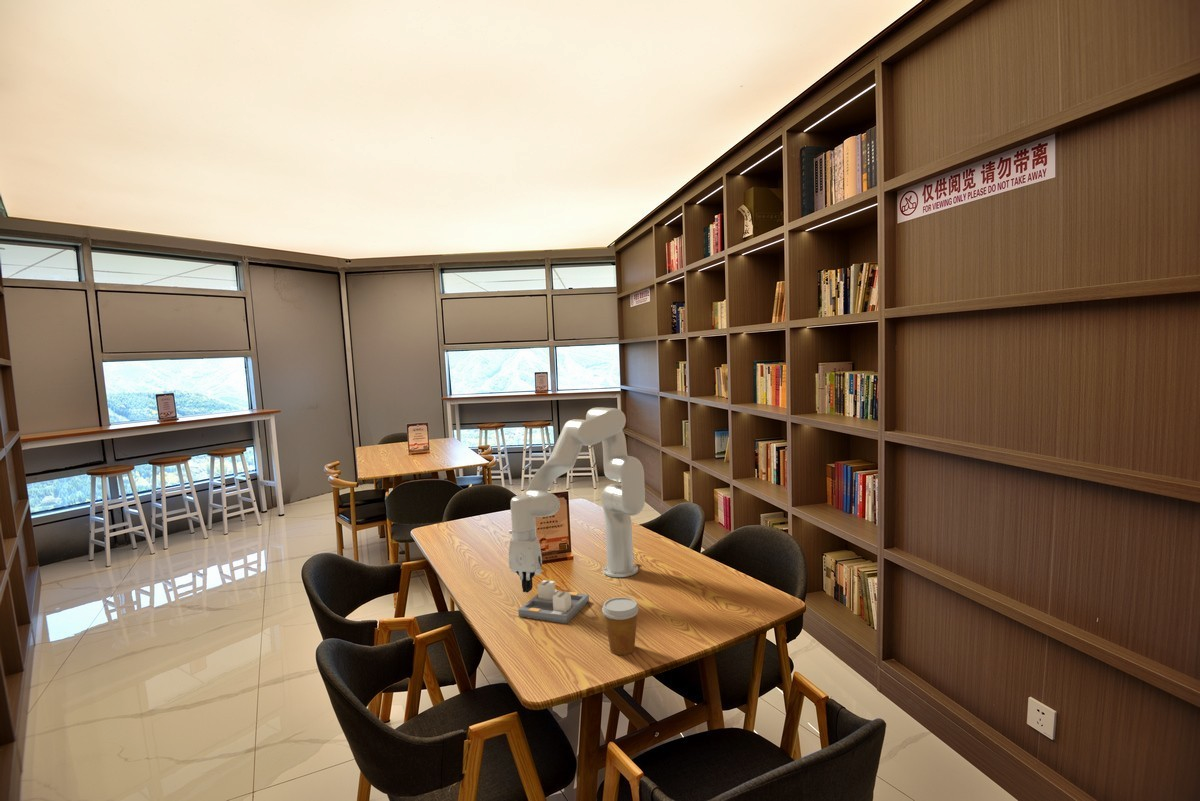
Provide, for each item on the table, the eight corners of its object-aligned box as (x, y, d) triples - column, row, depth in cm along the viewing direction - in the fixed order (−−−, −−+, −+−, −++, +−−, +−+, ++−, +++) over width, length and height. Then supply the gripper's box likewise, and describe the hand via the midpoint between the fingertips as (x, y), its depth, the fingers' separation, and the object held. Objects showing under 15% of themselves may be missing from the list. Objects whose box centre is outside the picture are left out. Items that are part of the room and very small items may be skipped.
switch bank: (544, 595, 180) (543, 588, 179) (589, 601, 173) (588, 593, 173) (518, 616, 165) (518, 608, 165) (566, 623, 159) (566, 615, 159)
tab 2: (544, 595, 177) (543, 579, 176) (555, 596, 175) (554, 580, 175) (538, 600, 173) (537, 583, 173) (549, 601, 171) (548, 585, 171)
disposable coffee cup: (646, 644, 144) (644, 600, 143) (630, 662, 136) (627, 614, 135) (615, 637, 149) (613, 594, 148) (597, 653, 141) (594, 607, 140)
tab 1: (559, 607, 167) (558, 590, 166) (571, 609, 165) (570, 591, 165) (553, 613, 163) (552, 595, 163) (565, 614, 161) (564, 597, 161)
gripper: (497, 536, 175) (501, 592, 176) (538, 539, 169) (542, 598, 170) (510, 529, 182) (513, 584, 183) (550, 532, 176) (553, 588, 177)
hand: (527, 590), depth 177 cm, fingers closed
